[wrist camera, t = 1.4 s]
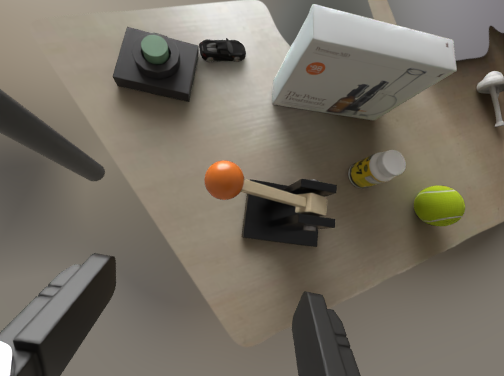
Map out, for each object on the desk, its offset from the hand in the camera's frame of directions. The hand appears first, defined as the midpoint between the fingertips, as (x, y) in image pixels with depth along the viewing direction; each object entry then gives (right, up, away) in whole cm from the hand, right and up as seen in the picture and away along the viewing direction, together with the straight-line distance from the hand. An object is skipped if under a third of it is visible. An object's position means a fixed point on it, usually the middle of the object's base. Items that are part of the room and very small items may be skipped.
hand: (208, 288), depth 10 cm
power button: (-12, +24, +26) cm, 38 cm away
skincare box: (+16, +20, +36) cm, 44 cm away
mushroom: (+55, +23, +45) cm, 75 cm away
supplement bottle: (+21, +6, +34) cm, 41 cm away
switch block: (-13, +24, +30) cm, 40 cm away
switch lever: (+3, +3, +17) cm, 17 cm away
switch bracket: (+7, 0, +29) cm, 30 cm away
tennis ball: (+33, 0, +35) cm, 49 cm away
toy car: (-3, +28, +33) cm, 43 cm away
